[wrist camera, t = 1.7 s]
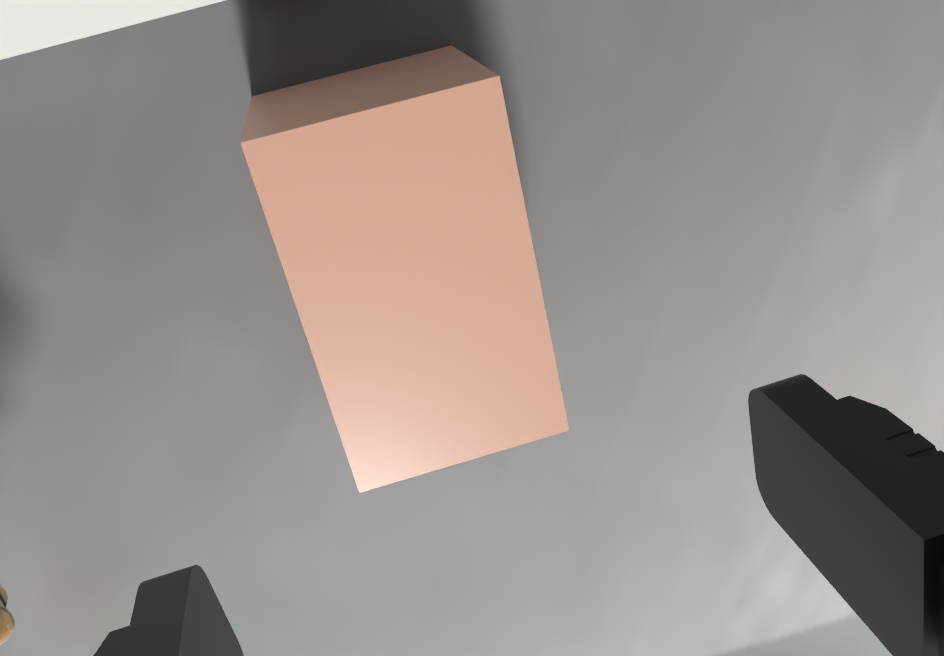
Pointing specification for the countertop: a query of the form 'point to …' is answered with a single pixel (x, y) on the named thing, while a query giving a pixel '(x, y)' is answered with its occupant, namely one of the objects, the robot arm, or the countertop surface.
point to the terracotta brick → (409, 260)
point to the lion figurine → (5, 618)
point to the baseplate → (75, 19)
